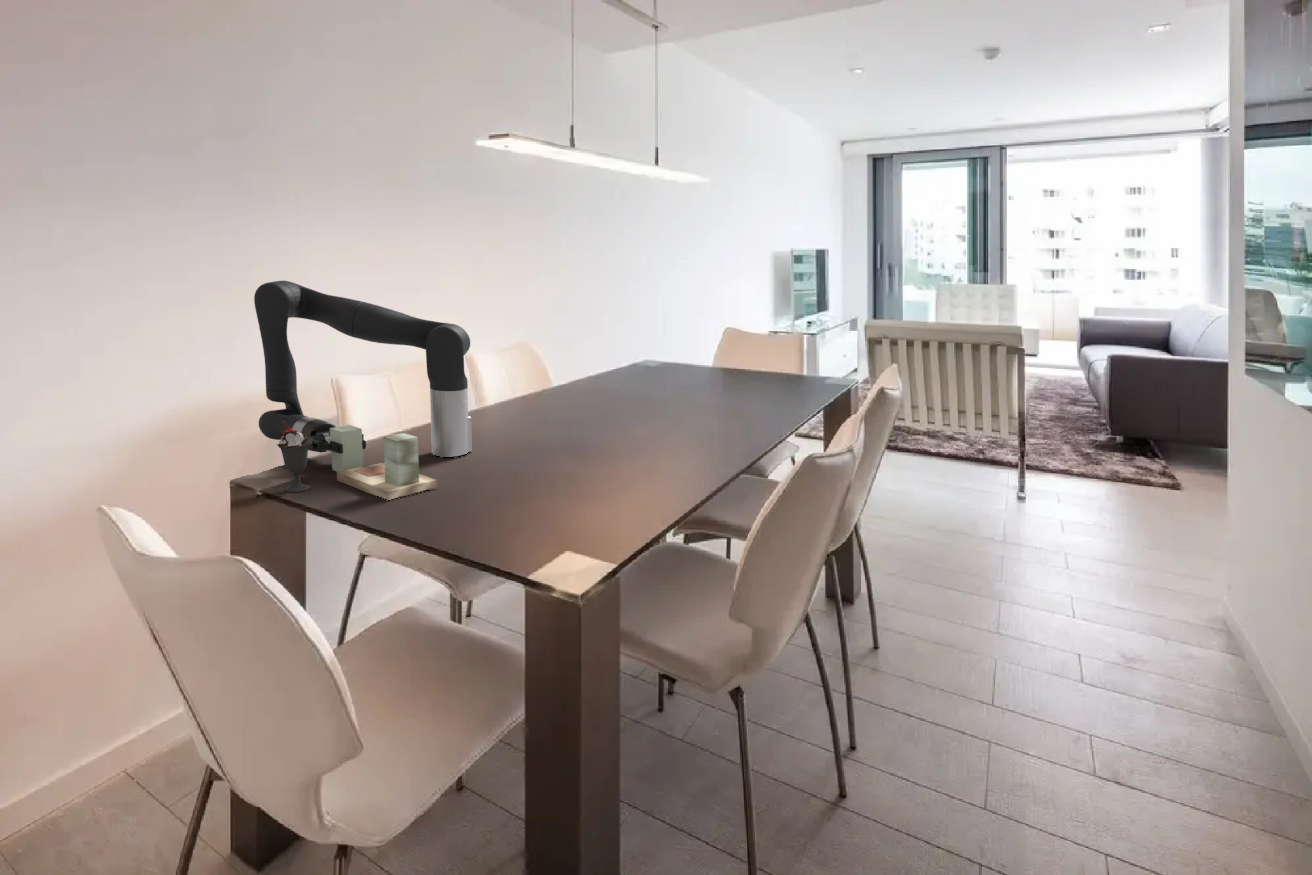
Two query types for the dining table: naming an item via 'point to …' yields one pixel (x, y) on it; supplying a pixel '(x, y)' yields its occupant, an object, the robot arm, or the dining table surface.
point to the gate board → (381, 484)
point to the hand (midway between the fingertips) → (352, 447)
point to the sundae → (295, 456)
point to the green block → (347, 448)
